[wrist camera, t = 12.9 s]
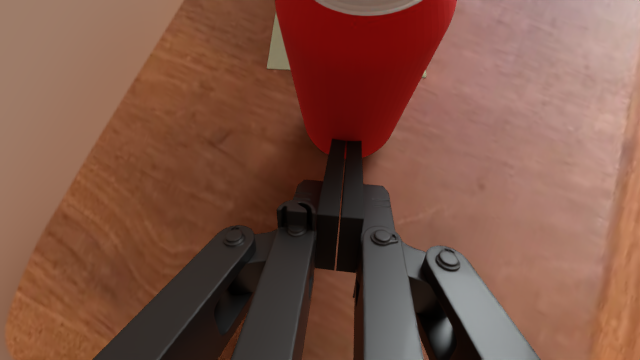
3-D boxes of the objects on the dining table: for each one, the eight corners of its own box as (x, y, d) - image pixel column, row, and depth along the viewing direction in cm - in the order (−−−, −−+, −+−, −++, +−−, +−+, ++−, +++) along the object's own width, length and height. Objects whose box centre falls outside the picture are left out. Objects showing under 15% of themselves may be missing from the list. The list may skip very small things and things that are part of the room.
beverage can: (289, 138, 19) (219, -24, 7) (333, 71, 20) (332, -164, 8) (364, 180, 18) (420, 70, 6) (406, 107, 19) (521, -102, 7)
